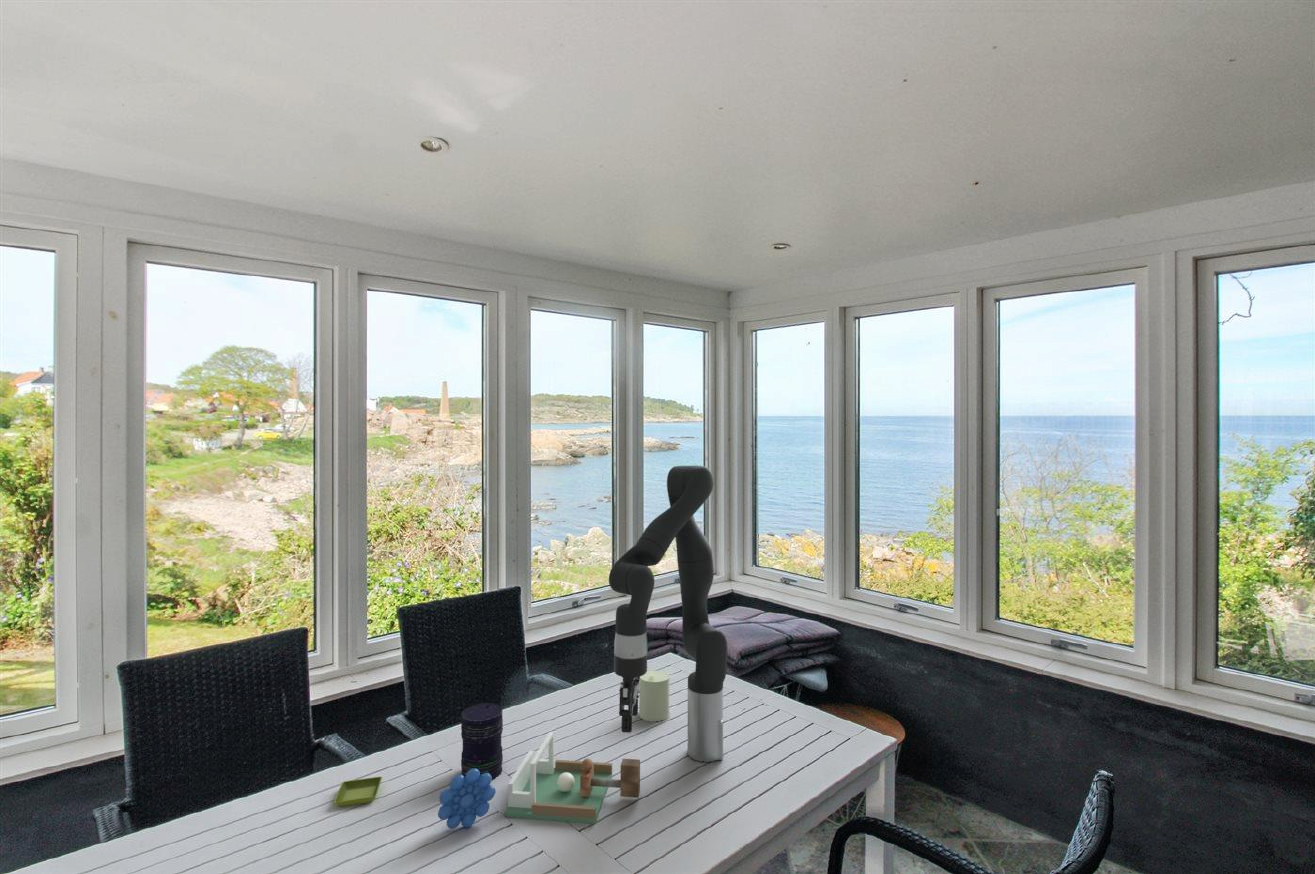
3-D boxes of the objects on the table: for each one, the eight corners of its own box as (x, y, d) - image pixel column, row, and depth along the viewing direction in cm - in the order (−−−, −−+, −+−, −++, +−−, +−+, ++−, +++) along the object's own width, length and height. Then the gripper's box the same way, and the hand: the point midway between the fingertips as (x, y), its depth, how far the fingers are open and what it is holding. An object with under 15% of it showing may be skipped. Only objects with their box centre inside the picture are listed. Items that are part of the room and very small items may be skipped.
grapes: (494, 810, 137) (494, 755, 137) (496, 828, 130) (496, 771, 130) (438, 819, 133) (438, 763, 133) (437, 839, 127) (437, 780, 127)
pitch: (612, 775, 151) (612, 731, 151) (595, 823, 132) (595, 772, 132) (532, 770, 153) (532, 726, 153) (504, 816, 135) (504, 766, 135)
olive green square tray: (333, 811, 137) (333, 802, 137) (342, 789, 145) (342, 781, 145) (376, 805, 139) (376, 796, 139) (382, 784, 148) (382, 775, 148)
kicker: (640, 787, 143) (640, 756, 143) (637, 800, 138) (637, 768, 138) (584, 783, 145) (584, 753, 145) (578, 795, 140) (579, 764, 140)
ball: (576, 786, 144) (576, 769, 144) (572, 796, 140) (572, 778, 140) (559, 785, 145) (559, 768, 145) (554, 795, 141) (554, 777, 141)
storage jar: (491, 785, 146) (491, 722, 147) (453, 781, 148) (453, 718, 148) (509, 764, 156) (509, 704, 156) (473, 760, 158) (473, 701, 158)
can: (634, 719, 181) (634, 678, 182) (644, 706, 190) (644, 667, 190) (664, 723, 179) (664, 681, 179) (673, 710, 188) (673, 670, 188)
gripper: (642, 663, 134) (641, 739, 133) (651, 642, 148) (650, 710, 148) (608, 661, 135) (607, 736, 134) (620, 640, 149) (619, 708, 149)
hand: (630, 722), depth 141 cm, fingers open, 8 cm apart
